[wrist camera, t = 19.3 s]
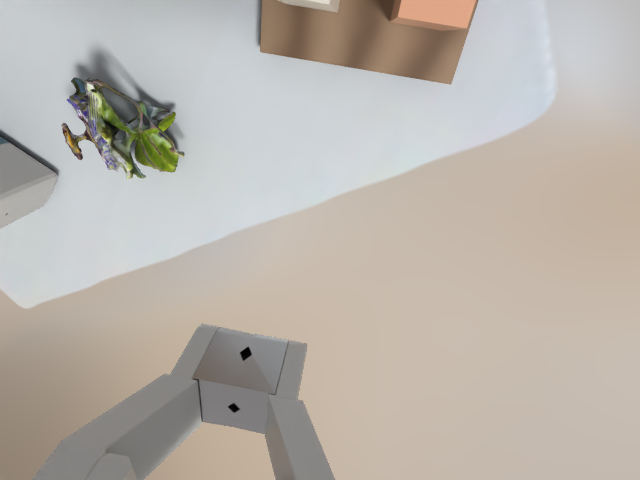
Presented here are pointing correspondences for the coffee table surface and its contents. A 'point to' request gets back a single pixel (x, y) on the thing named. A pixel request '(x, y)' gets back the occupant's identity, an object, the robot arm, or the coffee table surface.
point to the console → (361, 39)
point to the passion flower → (107, 123)
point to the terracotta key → (433, 13)
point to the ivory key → (315, 4)
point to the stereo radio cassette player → (22, 183)
